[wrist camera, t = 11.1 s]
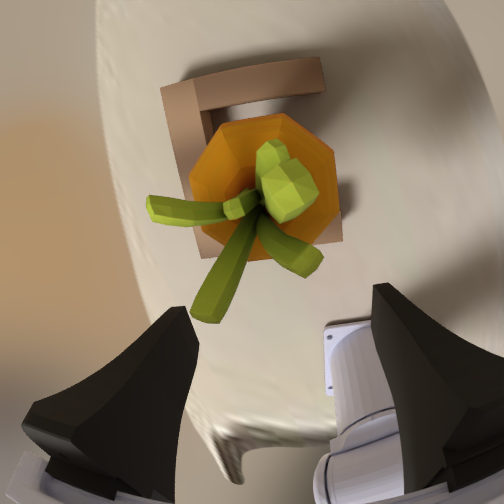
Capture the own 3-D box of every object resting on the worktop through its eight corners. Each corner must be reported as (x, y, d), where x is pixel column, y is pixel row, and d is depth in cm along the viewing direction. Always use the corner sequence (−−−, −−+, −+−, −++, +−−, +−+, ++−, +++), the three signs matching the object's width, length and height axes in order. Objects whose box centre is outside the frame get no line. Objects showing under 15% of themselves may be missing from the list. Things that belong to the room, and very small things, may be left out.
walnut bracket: (336, 226, 20) (343, 241, 18) (209, 242, 22) (201, 258, 20) (314, 63, 16) (319, 56, 13) (174, 89, 17) (159, 87, 15)
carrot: (260, 200, 20) (219, 389, 7) (218, 138, 18) (70, 220, 5) (326, 163, 18) (426, 304, 5) (285, 97, 17) (303, 47, 3)
